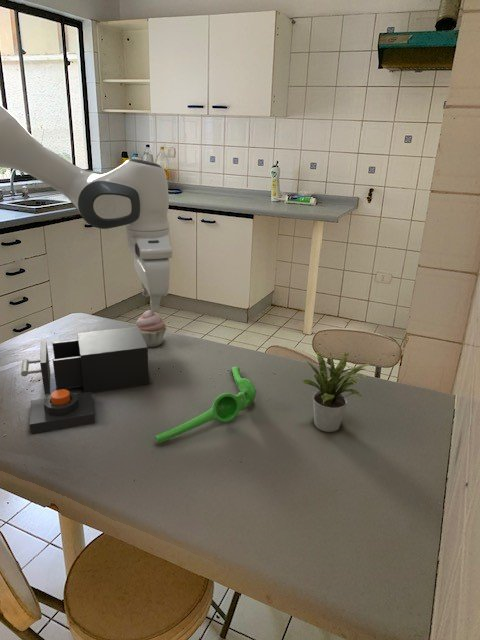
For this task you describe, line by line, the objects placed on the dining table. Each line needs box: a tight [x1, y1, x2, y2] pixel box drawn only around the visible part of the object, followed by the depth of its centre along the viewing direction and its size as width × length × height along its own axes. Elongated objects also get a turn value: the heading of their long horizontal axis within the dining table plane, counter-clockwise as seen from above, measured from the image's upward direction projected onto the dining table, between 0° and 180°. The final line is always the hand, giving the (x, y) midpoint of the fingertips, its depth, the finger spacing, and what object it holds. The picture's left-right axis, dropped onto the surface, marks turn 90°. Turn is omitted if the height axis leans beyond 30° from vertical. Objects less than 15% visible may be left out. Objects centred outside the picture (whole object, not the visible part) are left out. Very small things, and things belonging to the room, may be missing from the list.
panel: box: [28, 391, 96, 435], centre depth 95 cm, size 12×9×4 cm
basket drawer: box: [20, 338, 83, 396], centre depth 106 cm, size 18×11×8 cm, turn 111°
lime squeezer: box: [154, 366, 257, 444], centre depth 99 cm, size 34×12×6 cm, turn 154°
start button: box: [50, 389, 71, 405], centre depth 94 cm, size 4×4×2 cm
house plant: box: [300, 349, 372, 433], centre depth 92 cm, size 14×14×16 cm
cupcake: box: [133, 309, 168, 348], centre depth 128 cm, size 9×9×10 cm
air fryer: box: [76, 326, 150, 394], centre depth 110 cm, size 15×13×10 cm
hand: (150, 303), depth 102 cm, fingers open, 8 cm apart
